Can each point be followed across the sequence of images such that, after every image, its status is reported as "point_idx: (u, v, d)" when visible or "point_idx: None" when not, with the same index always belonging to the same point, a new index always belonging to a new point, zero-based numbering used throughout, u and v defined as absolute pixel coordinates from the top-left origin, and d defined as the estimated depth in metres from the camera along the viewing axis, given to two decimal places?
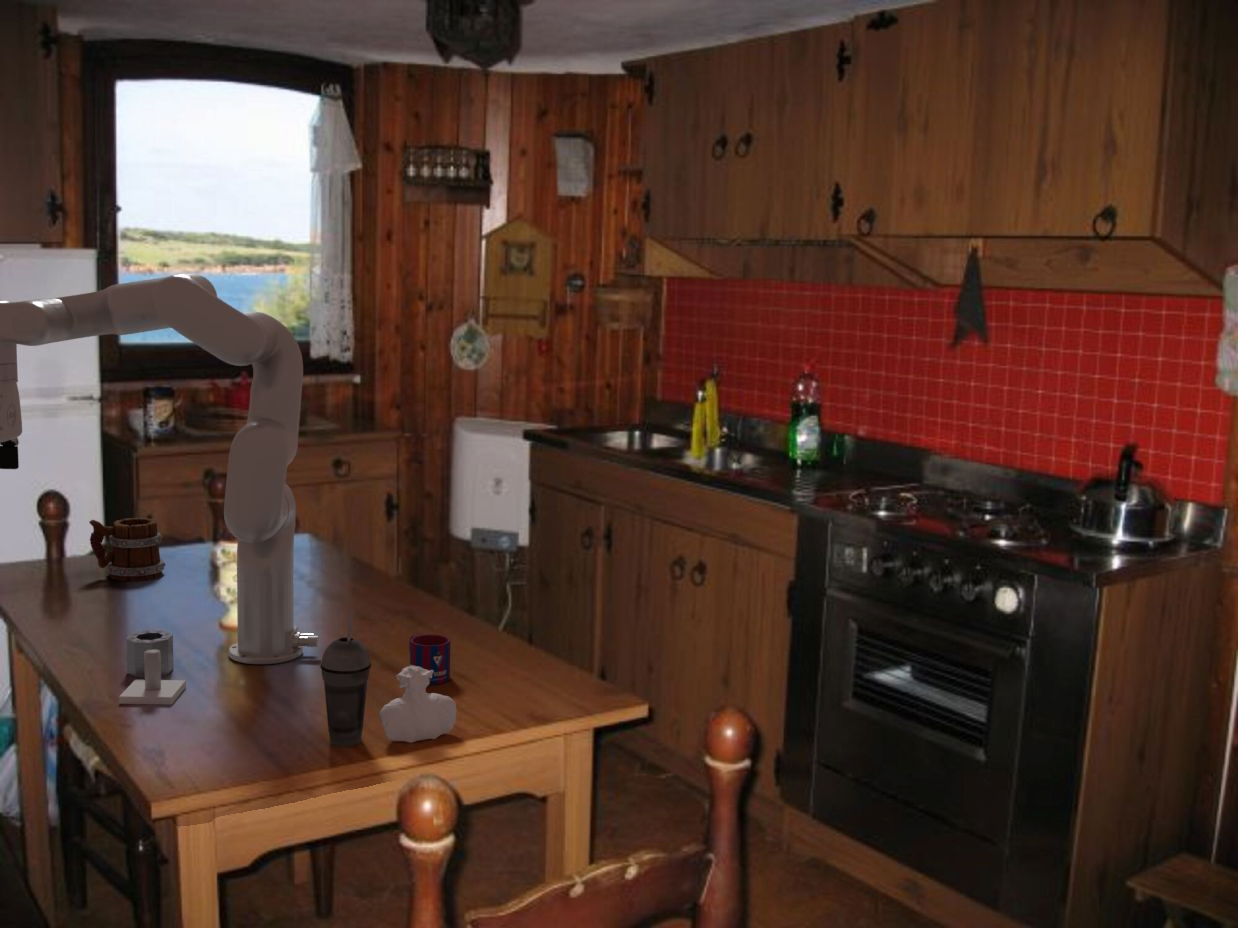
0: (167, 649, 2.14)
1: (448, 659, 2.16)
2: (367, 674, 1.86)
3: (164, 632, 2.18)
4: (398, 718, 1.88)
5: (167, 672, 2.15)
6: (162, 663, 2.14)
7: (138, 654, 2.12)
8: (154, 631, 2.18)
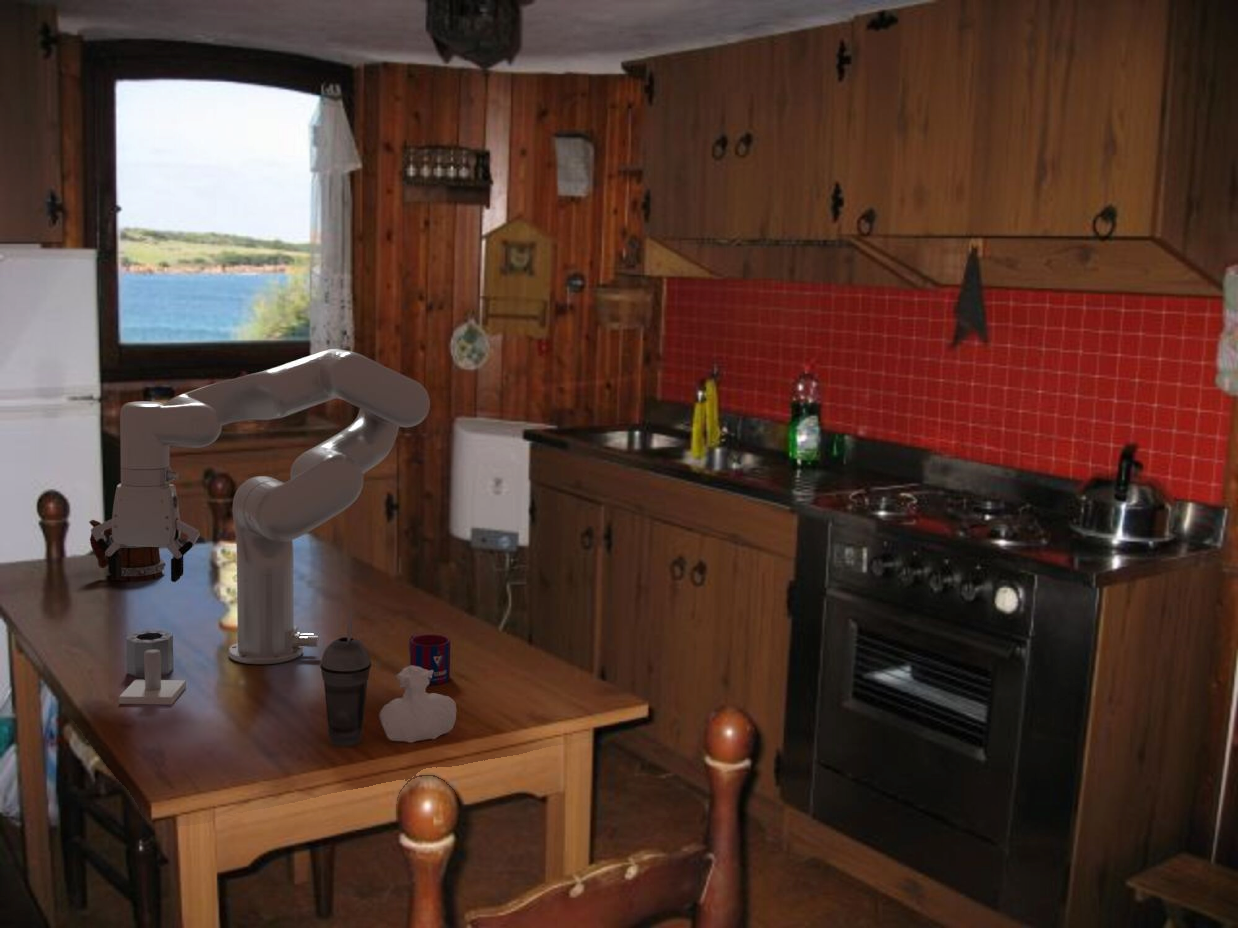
0: (167, 649, 2.14)
1: (448, 659, 2.16)
2: (367, 674, 1.86)
3: (164, 632, 2.18)
4: (398, 718, 1.88)
5: (167, 672, 2.15)
6: (162, 663, 2.14)
7: (138, 654, 2.12)
8: (154, 631, 2.18)
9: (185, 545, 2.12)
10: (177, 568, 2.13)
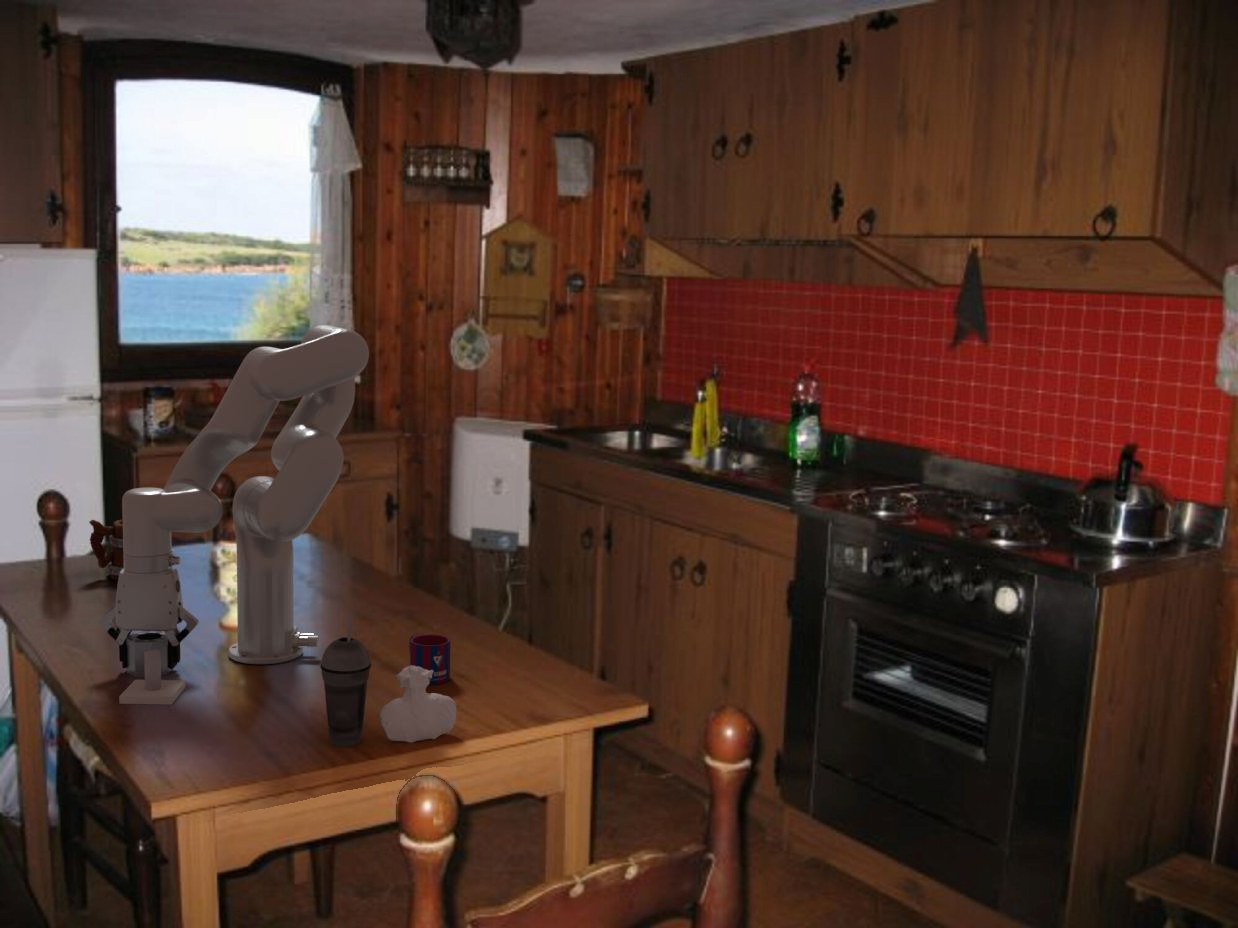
0: (167, 649, 2.14)
1: (448, 659, 2.16)
2: (367, 674, 1.86)
3: (164, 632, 2.18)
4: (398, 718, 1.88)
5: (167, 672, 2.15)
6: (162, 663, 2.14)
7: (138, 654, 2.12)
8: (154, 631, 2.18)
9: (182, 632, 2.15)
10: (174, 655, 2.15)
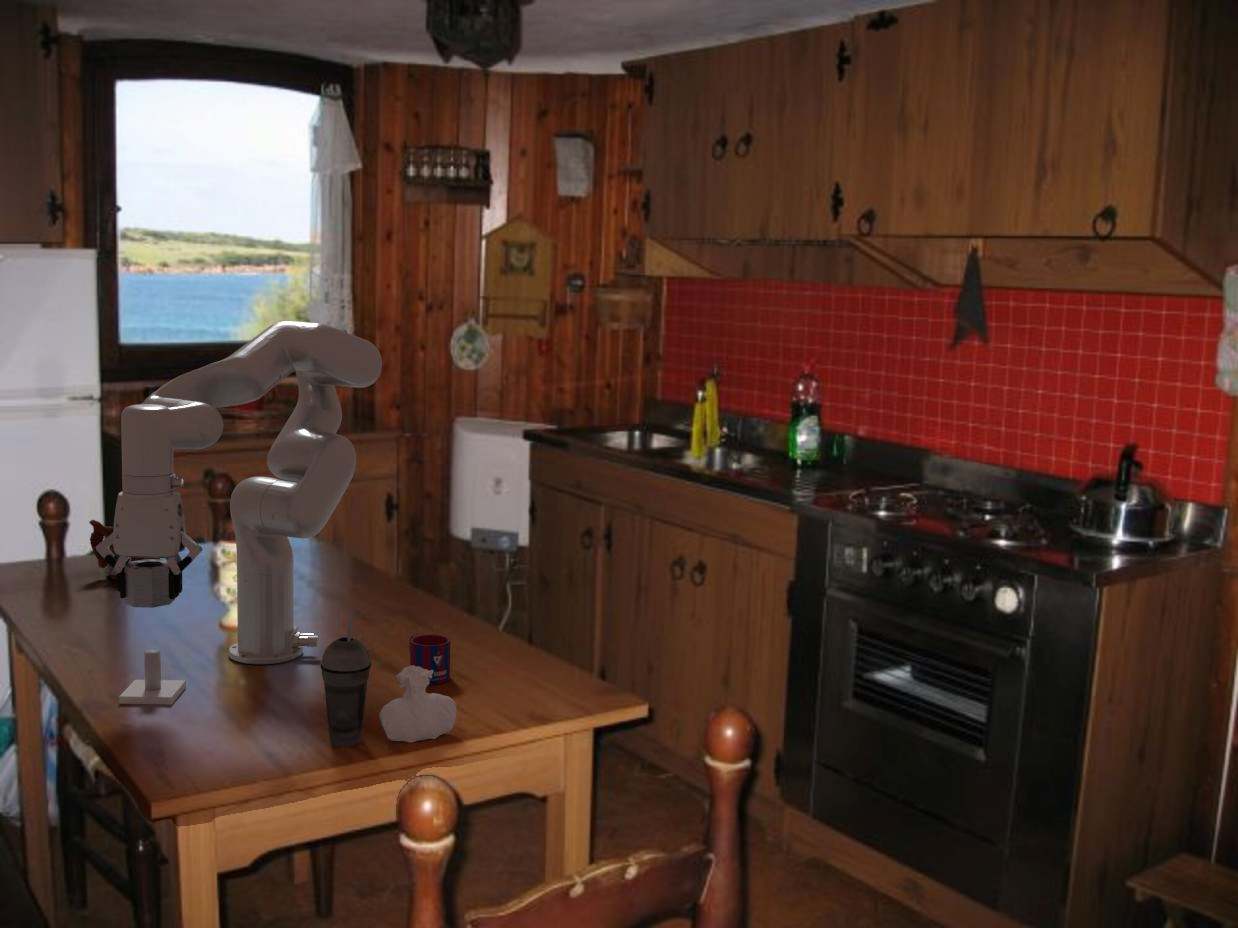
0: (168, 578, 2.00)
1: (448, 659, 2.16)
2: (367, 674, 1.86)
3: (165, 561, 2.03)
4: (398, 718, 1.88)
5: (168, 603, 2.01)
6: (163, 593, 2.00)
7: (137, 582, 1.98)
8: (154, 560, 2.04)
9: (184, 560, 2.00)
10: (176, 585, 2.01)
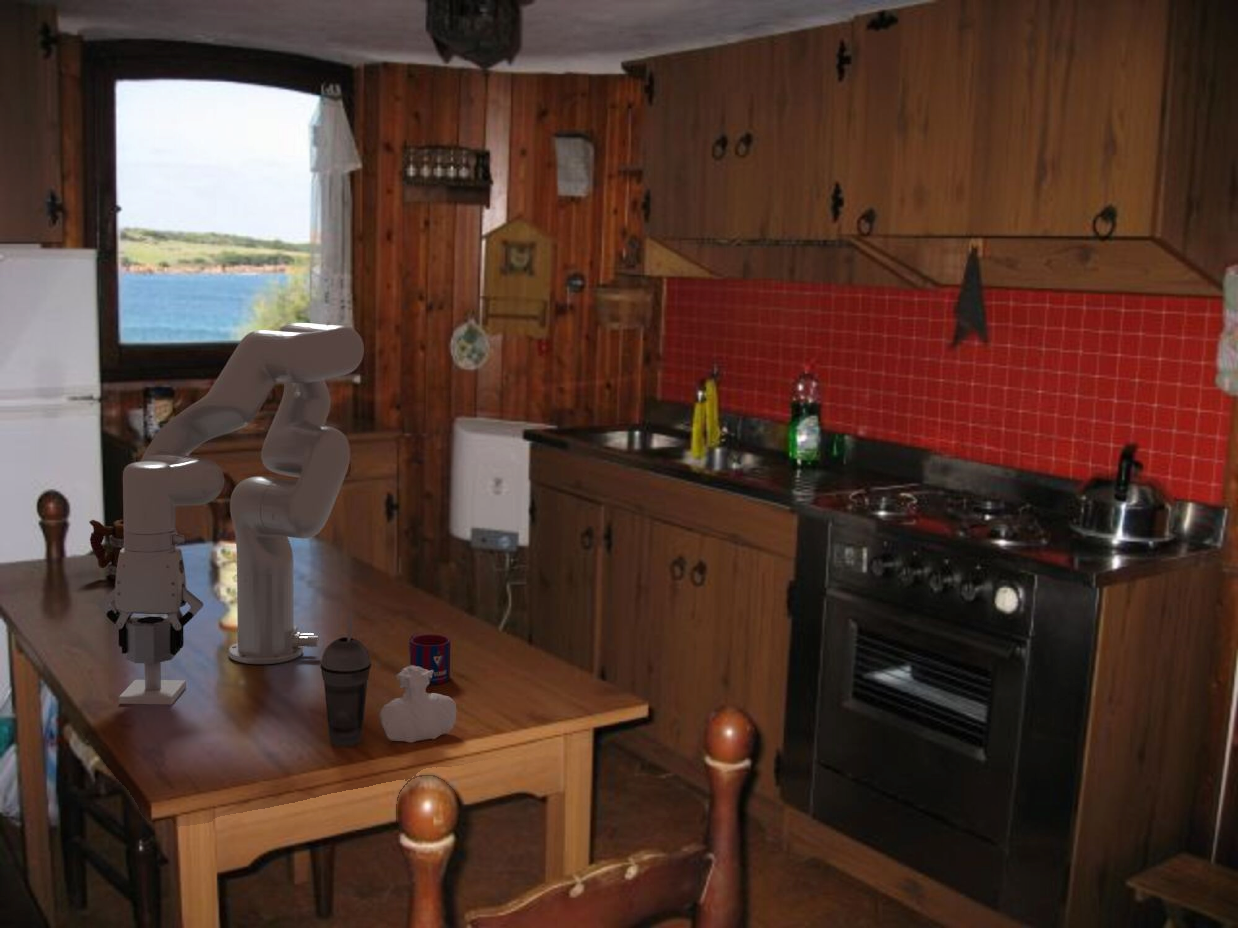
0: (169, 633, 2.02)
1: (448, 659, 2.16)
2: (367, 674, 1.86)
3: (166, 616, 2.05)
4: (398, 718, 1.88)
5: (169, 658, 2.02)
6: (164, 648, 2.01)
7: (138, 638, 1.99)
8: (155, 615, 2.05)
9: (185, 616, 2.02)
10: (177, 640, 2.02)
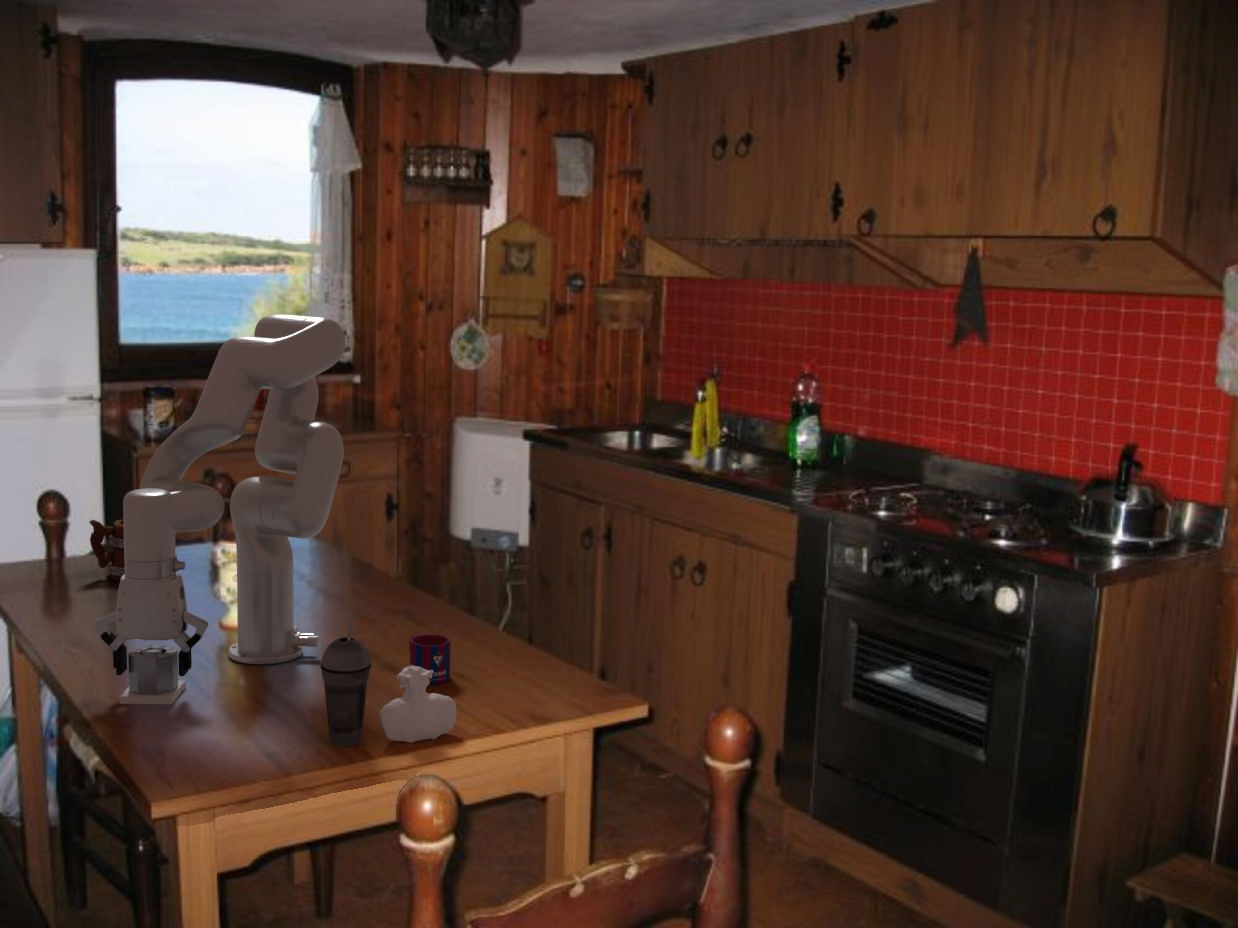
0: (172, 665, 2.03)
1: (448, 659, 2.16)
2: (367, 674, 1.86)
3: (168, 647, 2.06)
4: (398, 718, 1.88)
5: (171, 689, 2.03)
6: (166, 680, 2.02)
7: (141, 671, 2.01)
8: (158, 646, 2.06)
9: (193, 638, 2.03)
10: (185, 662, 2.03)
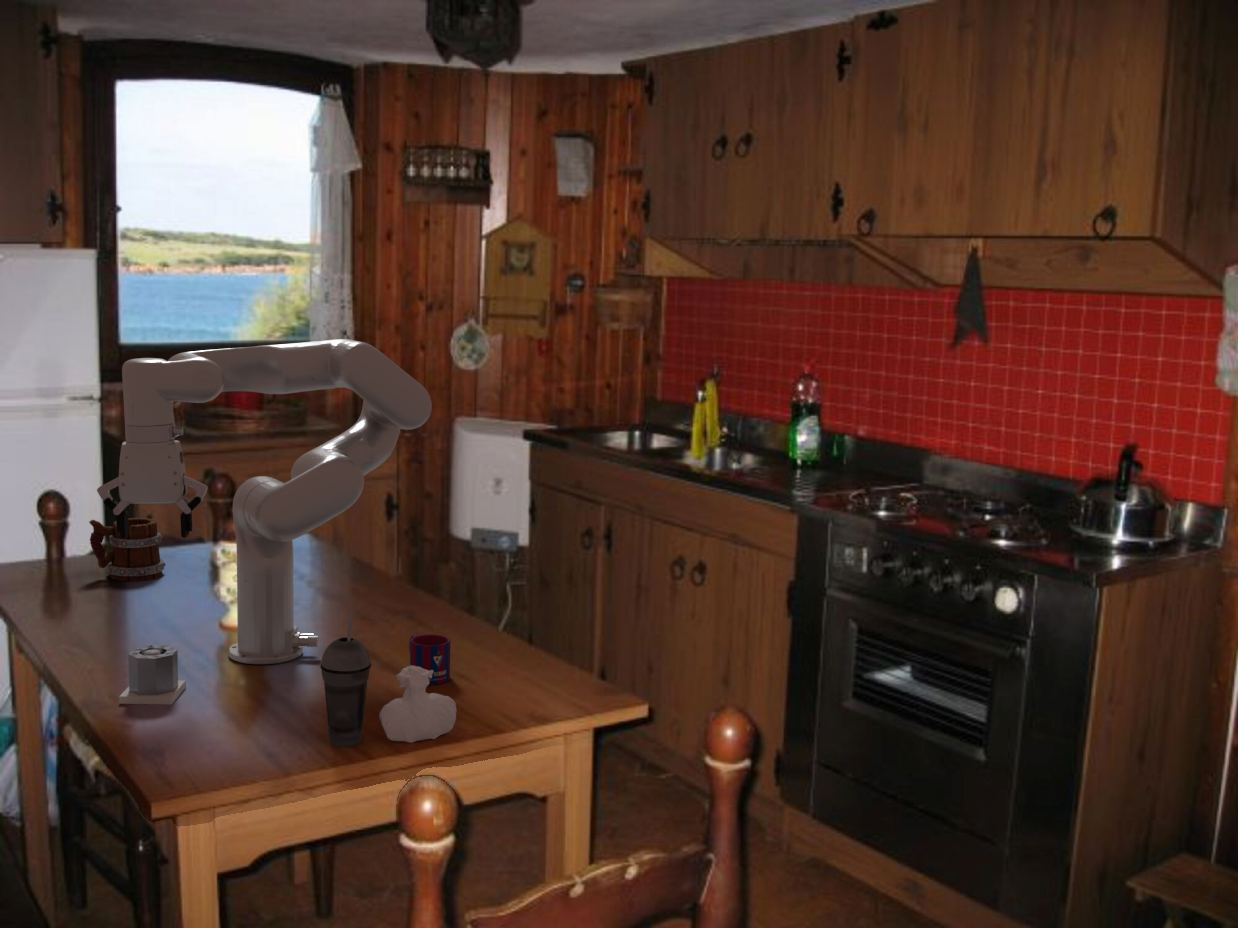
0: (172, 665, 2.03)
1: (448, 659, 2.16)
2: (367, 674, 1.86)
3: (168, 647, 2.06)
4: (398, 718, 1.88)
5: (171, 689, 2.03)
6: (166, 680, 2.02)
7: (141, 671, 2.01)
8: (158, 646, 2.06)
9: (194, 500, 2.12)
10: (187, 524, 2.13)
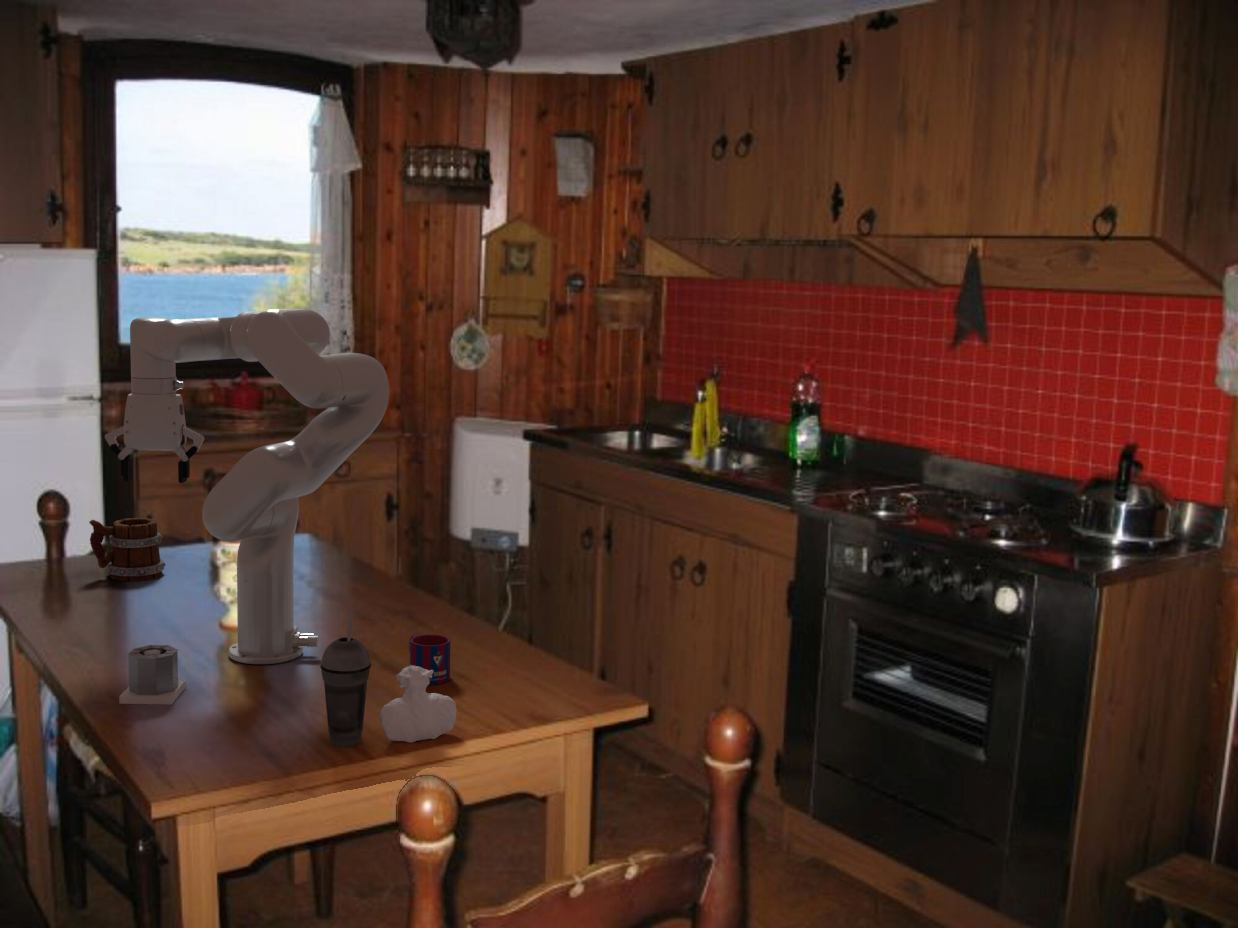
0: (172, 665, 2.03)
1: (448, 659, 2.16)
2: (367, 674, 1.86)
3: (168, 647, 2.06)
4: (398, 718, 1.88)
5: (171, 689, 2.03)
6: (166, 680, 2.02)
7: (141, 671, 2.01)
8: (158, 646, 2.06)
9: (191, 449, 2.32)
10: (184, 470, 2.32)
